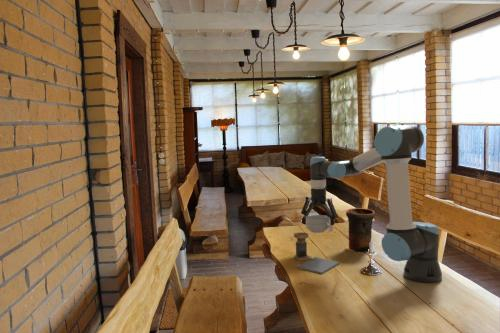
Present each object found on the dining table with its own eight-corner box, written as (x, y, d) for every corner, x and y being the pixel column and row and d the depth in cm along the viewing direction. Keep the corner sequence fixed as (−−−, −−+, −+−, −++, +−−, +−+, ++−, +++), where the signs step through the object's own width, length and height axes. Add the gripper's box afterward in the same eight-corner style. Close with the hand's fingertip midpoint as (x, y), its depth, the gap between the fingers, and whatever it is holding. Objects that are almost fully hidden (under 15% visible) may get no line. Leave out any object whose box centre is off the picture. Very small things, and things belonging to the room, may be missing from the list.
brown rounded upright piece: (311, 257, 208) (311, 234, 207) (303, 261, 203) (303, 237, 201) (299, 255, 213) (299, 231, 211) (291, 258, 207) (291, 234, 206)
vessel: (363, 242, 231) (364, 206, 228) (379, 250, 217) (380, 212, 214) (340, 245, 226) (340, 209, 223) (355, 254, 213) (355, 215, 210)
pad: (339, 263, 199) (339, 262, 199) (322, 274, 187) (322, 272, 187) (315, 258, 207) (315, 256, 207) (297, 267, 195) (297, 266, 195)
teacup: (304, 233, 212) (303, 217, 211) (309, 228, 222) (309, 213, 221) (332, 235, 206) (331, 219, 206) (336, 229, 216) (336, 214, 216)
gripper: (344, 188, 207) (344, 231, 209) (301, 185, 223) (302, 225, 225) (336, 190, 202) (337, 234, 204) (293, 187, 217) (294, 228, 219)
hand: (319, 229), depth 214 cm, fingers closed on teacup, 12 cm apart
